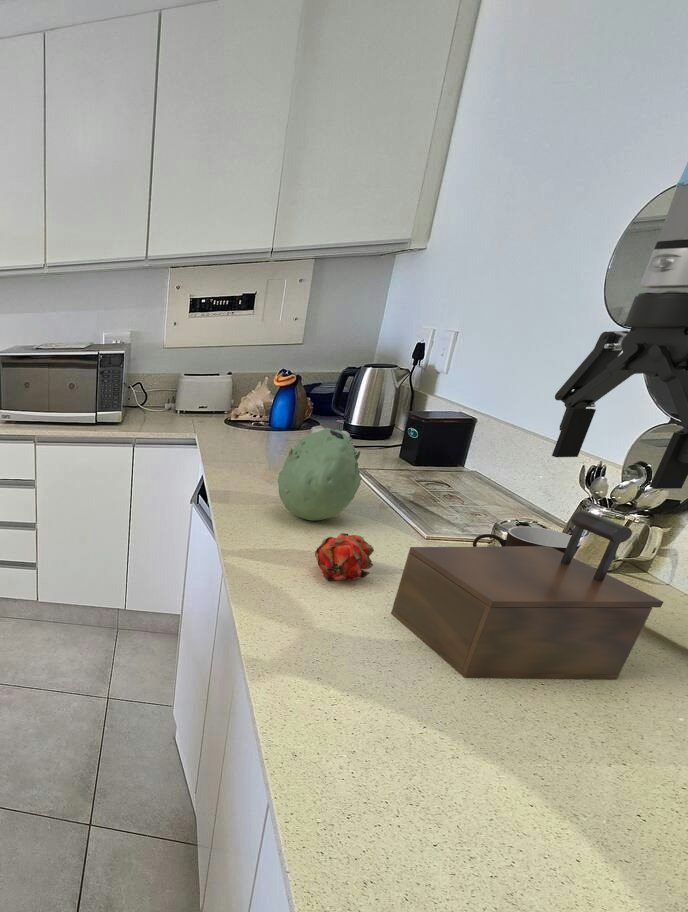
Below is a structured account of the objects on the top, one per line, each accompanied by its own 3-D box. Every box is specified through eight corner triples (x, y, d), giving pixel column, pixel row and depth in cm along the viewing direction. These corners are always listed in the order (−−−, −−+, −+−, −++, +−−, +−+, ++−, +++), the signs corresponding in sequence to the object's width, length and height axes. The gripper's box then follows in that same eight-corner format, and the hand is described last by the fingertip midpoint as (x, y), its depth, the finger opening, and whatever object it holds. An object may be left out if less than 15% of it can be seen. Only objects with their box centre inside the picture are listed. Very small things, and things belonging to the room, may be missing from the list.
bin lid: (547, 551, 86) (568, 497, 82) (661, 607, 71) (693, 544, 67) (408, 551, 88) (424, 499, 84) (490, 607, 72) (513, 545, 69)
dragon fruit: (351, 572, 108) (331, 604, 101) (315, 540, 110) (292, 569, 103) (391, 548, 102) (372, 581, 95) (351, 514, 104) (330, 544, 97)
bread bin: (516, 613, 90) (540, 551, 86) (616, 679, 75) (652, 608, 71) (390, 613, 92) (408, 552, 88) (464, 677, 77) (490, 607, 72)
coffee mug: (570, 597, 94) (593, 541, 90) (538, 608, 91) (561, 551, 87) (488, 568, 104) (506, 517, 100) (457, 578, 101) (475, 526, 97)
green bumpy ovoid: (273, 528, 125) (289, 437, 117) (270, 500, 140) (284, 418, 132) (358, 537, 118) (381, 442, 111) (344, 507, 134) (364, 421, 126)
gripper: (555, 290, 77) (503, 446, 85) (782, 292, 54) (680, 504, 62) (617, 288, 76) (558, 445, 84) (873, 288, 53) (758, 503, 62)
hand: (610, 471), depth 73 cm, fingers open, 13 cm apart
